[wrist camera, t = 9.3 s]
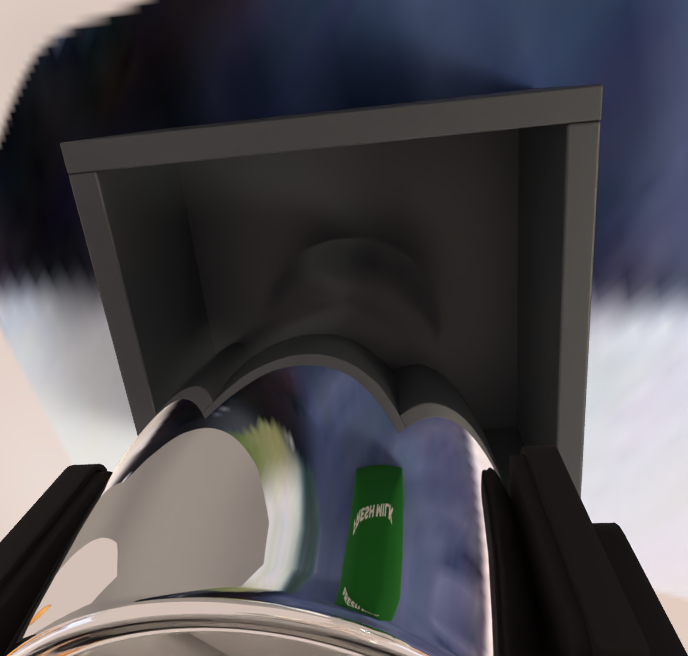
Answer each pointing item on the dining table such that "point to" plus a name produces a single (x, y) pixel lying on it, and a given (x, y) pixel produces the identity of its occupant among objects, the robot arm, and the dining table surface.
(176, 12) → the dining table surface
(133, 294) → the bin
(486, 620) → the beer glass
